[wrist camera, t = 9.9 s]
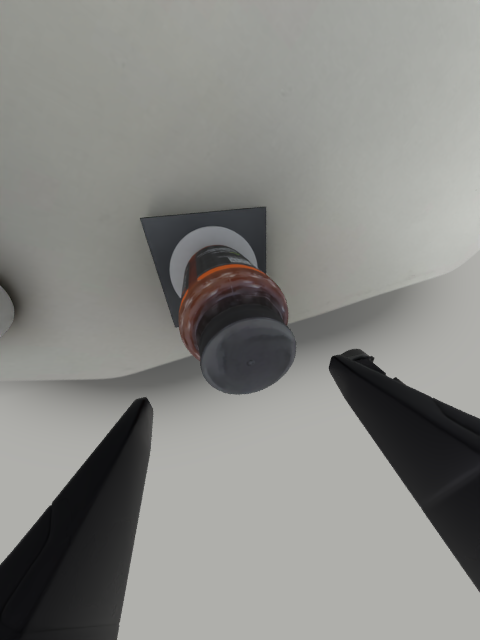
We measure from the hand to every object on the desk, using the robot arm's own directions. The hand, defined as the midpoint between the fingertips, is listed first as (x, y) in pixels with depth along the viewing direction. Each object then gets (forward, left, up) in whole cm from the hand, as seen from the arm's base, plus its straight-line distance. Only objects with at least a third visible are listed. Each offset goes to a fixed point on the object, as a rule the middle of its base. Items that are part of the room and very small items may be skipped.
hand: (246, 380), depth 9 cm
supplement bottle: (+2, 0, -11) cm, 11 cm away
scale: (+2, 0, -13) cm, 13 cm away
